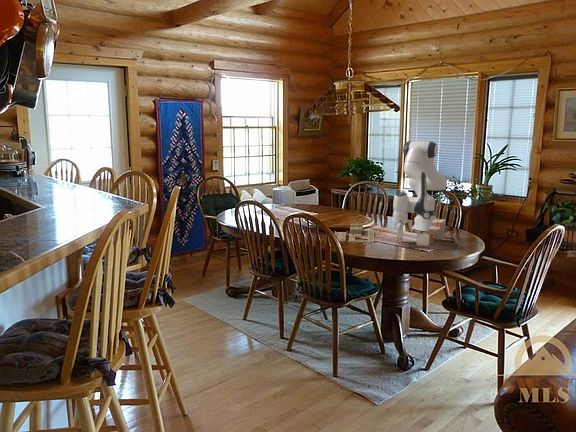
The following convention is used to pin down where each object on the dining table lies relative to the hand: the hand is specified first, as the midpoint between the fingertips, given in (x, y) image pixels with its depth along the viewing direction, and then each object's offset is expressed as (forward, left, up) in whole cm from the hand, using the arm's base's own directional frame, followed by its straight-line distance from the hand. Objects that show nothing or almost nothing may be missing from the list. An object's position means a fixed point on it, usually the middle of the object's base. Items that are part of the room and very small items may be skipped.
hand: (399, 241), depth 307 cm
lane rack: (0, +20, -3) cm, 20 cm away
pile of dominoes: (-20, -30, -3) cm, 36 cm away
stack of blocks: (-17, +23, -3) cm, 29 cm away
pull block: (0, +8, -1) cm, 8 cm away
